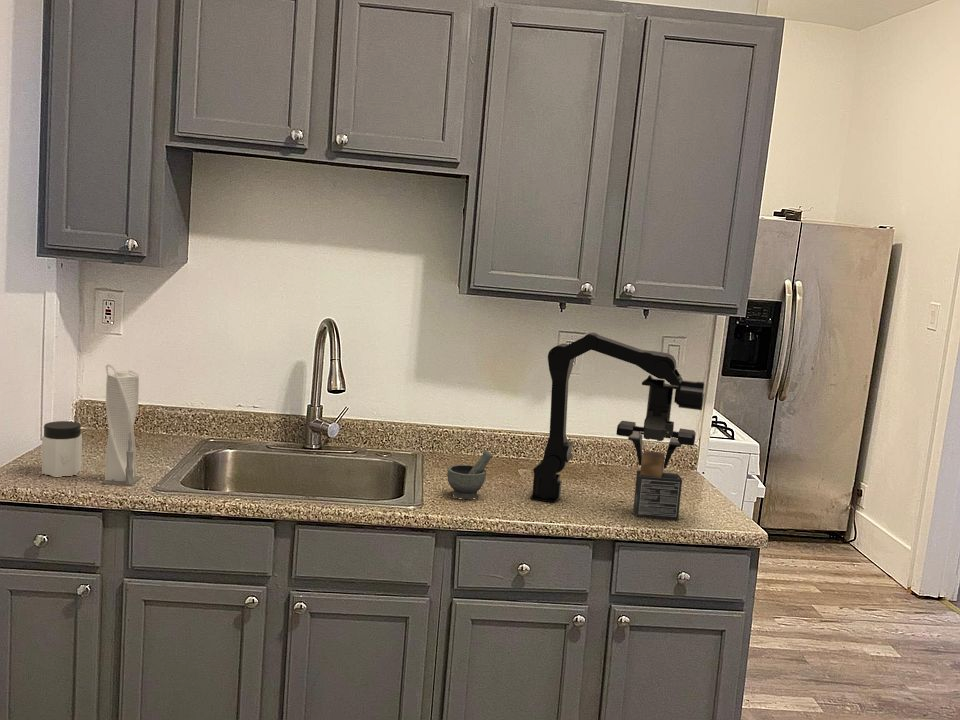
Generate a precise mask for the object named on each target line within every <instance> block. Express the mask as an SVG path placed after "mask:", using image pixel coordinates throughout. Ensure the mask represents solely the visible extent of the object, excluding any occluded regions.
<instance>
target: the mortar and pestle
mask: <svg viewBox="0 0 960 720" xmlns="http://www.w3.org/2000/svg"><path fill="white" fill-rule="evenodd" d="M493 457H494V455H493V454H492V453H491V452H490V451H488V450H486V449H485V450H483V452H482V455H481V456H480V457H479V459H478V460H477V461H476V462H475V464H474V465H472V464H455V465H449V467H448V468H447V471H446V473H447V482H448V484H449V486H450V487H451V488H452V490H453V492H452V496H453V495H454V496H455V497H457V498H462V499H473V498H476V497H477V498H478V491H480V490H481V489H482V488H483V485H484V483H485V481H486V477H487V470H486V469H485V468H486V467H487V466H488V463H489V461H490V460H492V459H493ZM455 497H454V498H455ZM457 498H456V499H457ZM477 498H476V499H477ZM473 500H474V499H473Z"/></svg>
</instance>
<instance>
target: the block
mask: <svg viewBox="0 0 960 720" xmlns="http://www.w3.org/2000/svg"><path fill="white" fill-rule="evenodd" d="M665 457H666V455H665V453H664V452H657V451H649V450H644V451H643V452H642V462H641V465H640V471H641V472H640V475H645V476H652V477H659V478H661V476H662V474H663V473H664V462H665Z"/></svg>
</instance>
